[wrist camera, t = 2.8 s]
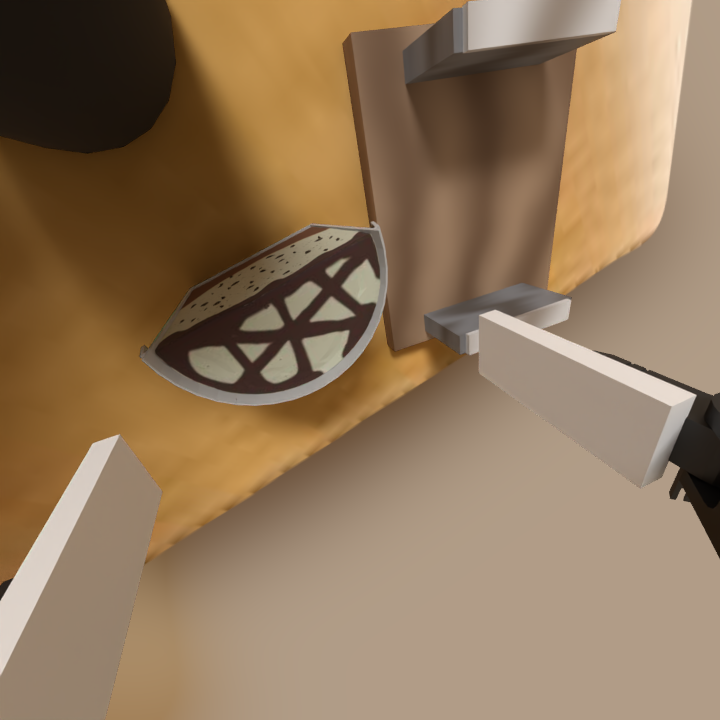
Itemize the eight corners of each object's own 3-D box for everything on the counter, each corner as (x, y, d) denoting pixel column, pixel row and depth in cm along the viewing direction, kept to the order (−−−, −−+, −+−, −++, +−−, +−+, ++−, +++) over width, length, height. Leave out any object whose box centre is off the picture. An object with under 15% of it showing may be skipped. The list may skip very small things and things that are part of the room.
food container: (225, 368, 25) (223, 457, 16) (169, 299, 21) (129, 366, 13) (363, 290, 26) (428, 335, 17) (330, 213, 22) (390, 224, 14)
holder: (387, 344, 29) (427, 382, 23) (342, 43, 19) (393, -26, 13) (533, 295, 32) (600, 317, 26) (561, 18, 22) (679, -45, 16)
